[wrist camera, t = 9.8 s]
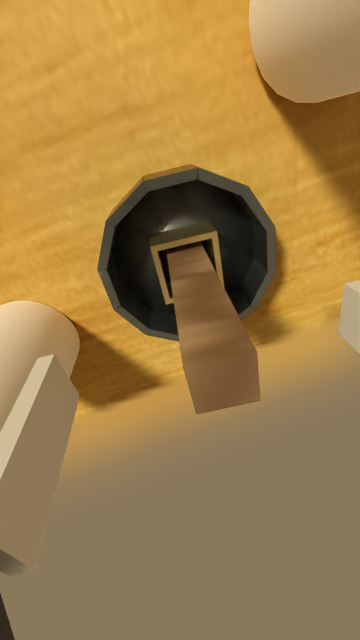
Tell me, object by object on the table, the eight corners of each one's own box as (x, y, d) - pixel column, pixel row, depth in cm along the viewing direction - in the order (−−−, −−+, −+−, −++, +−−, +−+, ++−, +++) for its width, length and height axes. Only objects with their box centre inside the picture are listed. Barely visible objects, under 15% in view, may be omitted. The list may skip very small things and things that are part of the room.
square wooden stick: (172, 274, 22) (196, 414, 11) (165, 244, 21) (183, 368, 9) (203, 267, 22) (260, 400, 11) (197, 236, 21) (257, 351, 9)
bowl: (133, 330, 26) (131, 354, 23) (81, 191, 19) (68, 199, 16) (261, 301, 25) (276, 321, 22) (254, 148, 18) (274, 148, 16)
